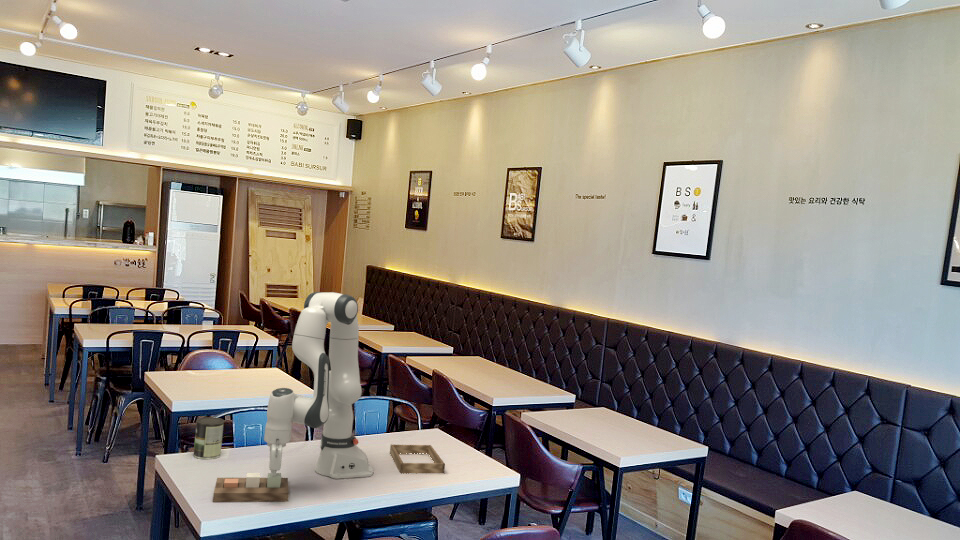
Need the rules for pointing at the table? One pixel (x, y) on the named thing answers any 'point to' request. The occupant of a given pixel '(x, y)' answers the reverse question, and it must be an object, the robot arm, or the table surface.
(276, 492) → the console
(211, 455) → the coffee can
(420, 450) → the frame
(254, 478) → the cream cube
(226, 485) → the key terracotta
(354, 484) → the table surface
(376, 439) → the table surface
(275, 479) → the key sage
